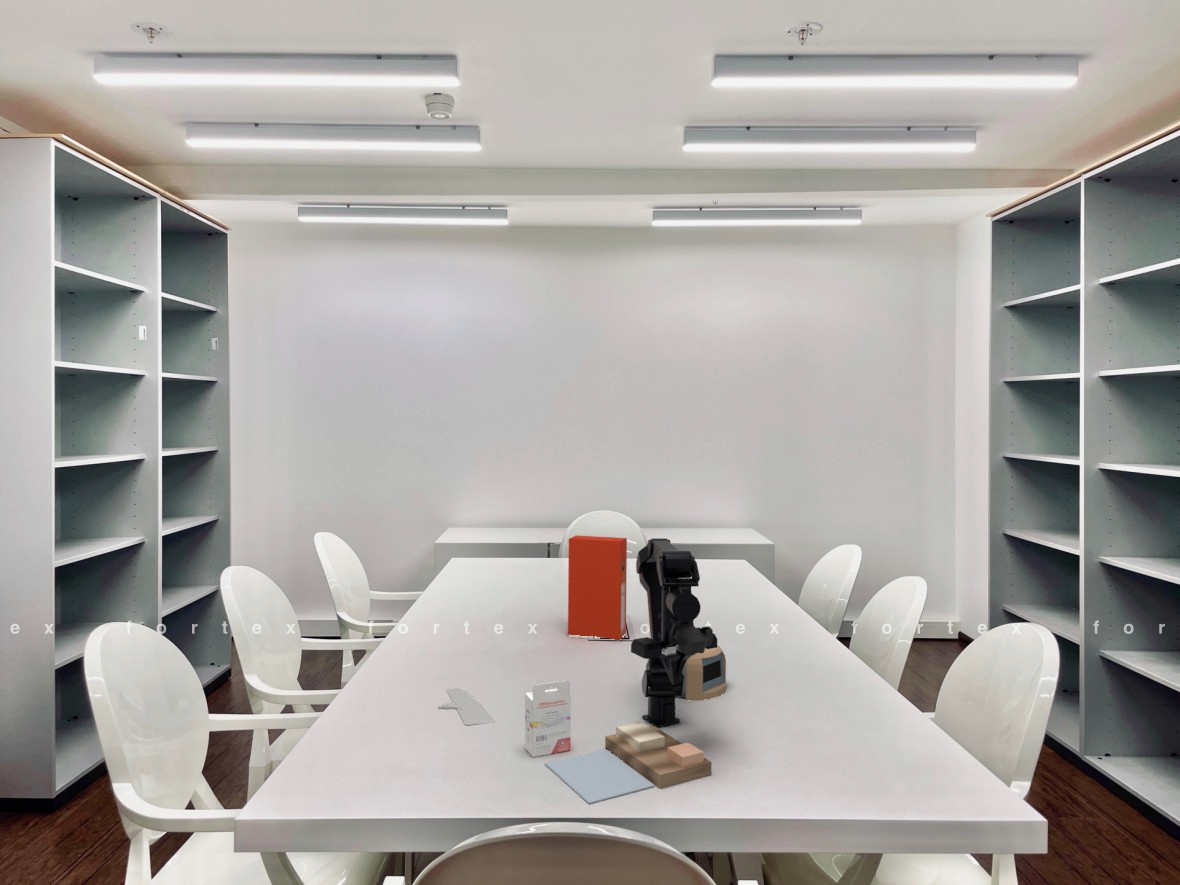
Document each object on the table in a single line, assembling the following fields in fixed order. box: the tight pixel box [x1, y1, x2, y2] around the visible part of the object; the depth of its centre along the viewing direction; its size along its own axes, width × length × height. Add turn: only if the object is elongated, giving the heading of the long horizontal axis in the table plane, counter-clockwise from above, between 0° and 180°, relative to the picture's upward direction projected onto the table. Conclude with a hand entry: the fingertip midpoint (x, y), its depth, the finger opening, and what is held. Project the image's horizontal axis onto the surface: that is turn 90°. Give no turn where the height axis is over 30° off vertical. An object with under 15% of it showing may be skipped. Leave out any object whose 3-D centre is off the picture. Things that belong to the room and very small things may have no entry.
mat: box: [544, 748, 656, 805], centre depth 143 cm, size 18×14×1 cm
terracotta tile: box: [667, 742, 705, 768], centre depth 144 cm, size 5×5×2 cm
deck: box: [604, 725, 712, 789], centre depth 150 cm, size 20×12×2 cm, turn 29°
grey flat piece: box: [437, 687, 496, 726], centre depth 181 cm, size 25×24×1 cm
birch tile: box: [615, 721, 665, 752], centre depth 153 cm, size 9×6×2 cm, turn 29°
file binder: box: [567, 535, 628, 640], centre depth 241 cm, size 8×17×32 cm, turn 73°
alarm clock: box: [676, 644, 727, 701], centre depth 194 cm, size 19×20×12 cm
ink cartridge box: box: [524, 679, 571, 758], centre depth 154 cm, size 9×5×15 cm, turn 114°
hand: (674, 684), depth 157 cm, fingers closed
